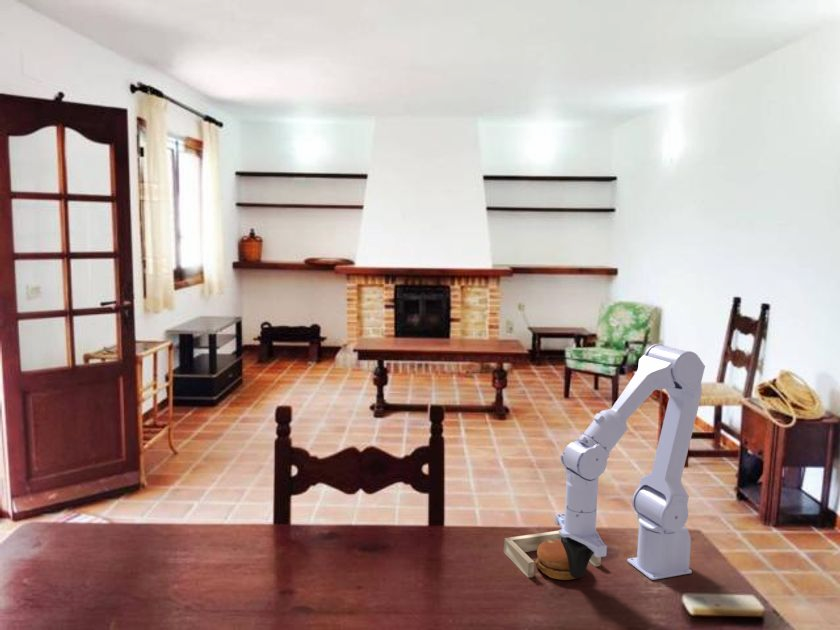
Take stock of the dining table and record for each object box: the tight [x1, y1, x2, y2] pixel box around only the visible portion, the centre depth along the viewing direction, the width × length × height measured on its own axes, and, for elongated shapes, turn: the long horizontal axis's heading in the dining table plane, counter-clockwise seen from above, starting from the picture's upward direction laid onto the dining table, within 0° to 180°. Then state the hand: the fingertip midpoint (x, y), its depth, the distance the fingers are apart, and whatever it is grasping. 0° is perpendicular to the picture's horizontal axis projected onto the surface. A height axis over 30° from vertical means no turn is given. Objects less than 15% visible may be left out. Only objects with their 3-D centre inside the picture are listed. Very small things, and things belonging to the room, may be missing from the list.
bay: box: [503, 530, 602, 578], centre depth 135 cm, size 16×11×3 cm
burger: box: [534, 539, 577, 581], centre depth 131 cm, size 10×9×5 cm
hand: (577, 575), depth 126 cm, fingers closed
